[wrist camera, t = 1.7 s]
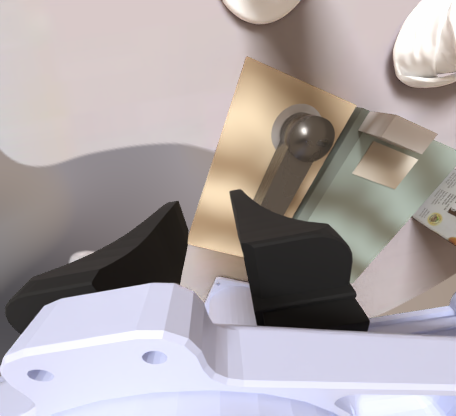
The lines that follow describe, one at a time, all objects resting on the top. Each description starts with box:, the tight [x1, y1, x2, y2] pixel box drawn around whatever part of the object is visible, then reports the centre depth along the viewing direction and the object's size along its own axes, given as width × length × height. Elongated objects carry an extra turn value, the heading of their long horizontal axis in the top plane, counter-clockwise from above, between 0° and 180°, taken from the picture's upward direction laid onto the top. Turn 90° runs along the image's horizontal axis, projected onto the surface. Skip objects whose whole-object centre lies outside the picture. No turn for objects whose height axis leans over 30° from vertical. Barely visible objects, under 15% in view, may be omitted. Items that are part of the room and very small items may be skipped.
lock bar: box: [253, 112, 335, 216], centre depth 18 cm, size 12×3×3 cm, turn 161°
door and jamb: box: [188, 56, 456, 283], centre depth 21 cm, size 18×22×4 cm
